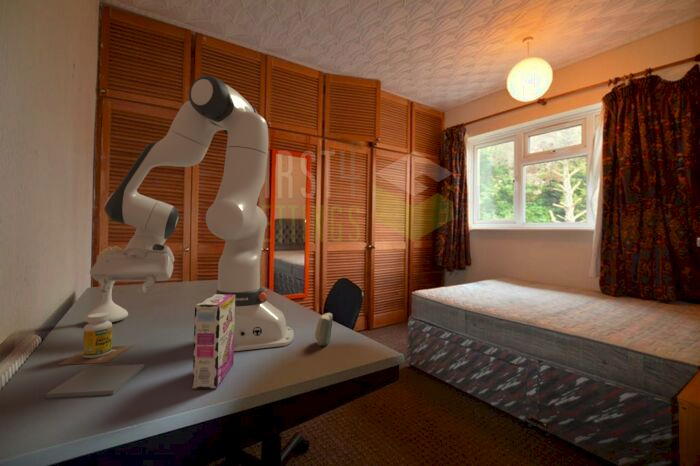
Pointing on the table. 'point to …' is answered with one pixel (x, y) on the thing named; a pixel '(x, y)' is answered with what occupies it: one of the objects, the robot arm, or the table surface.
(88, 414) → the table surface
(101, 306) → the flower in vase
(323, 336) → the beige upright rounded block
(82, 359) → the tile
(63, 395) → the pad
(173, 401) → the table surface
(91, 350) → the supplement bottle
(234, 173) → the robot arm
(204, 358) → the candy bar box
